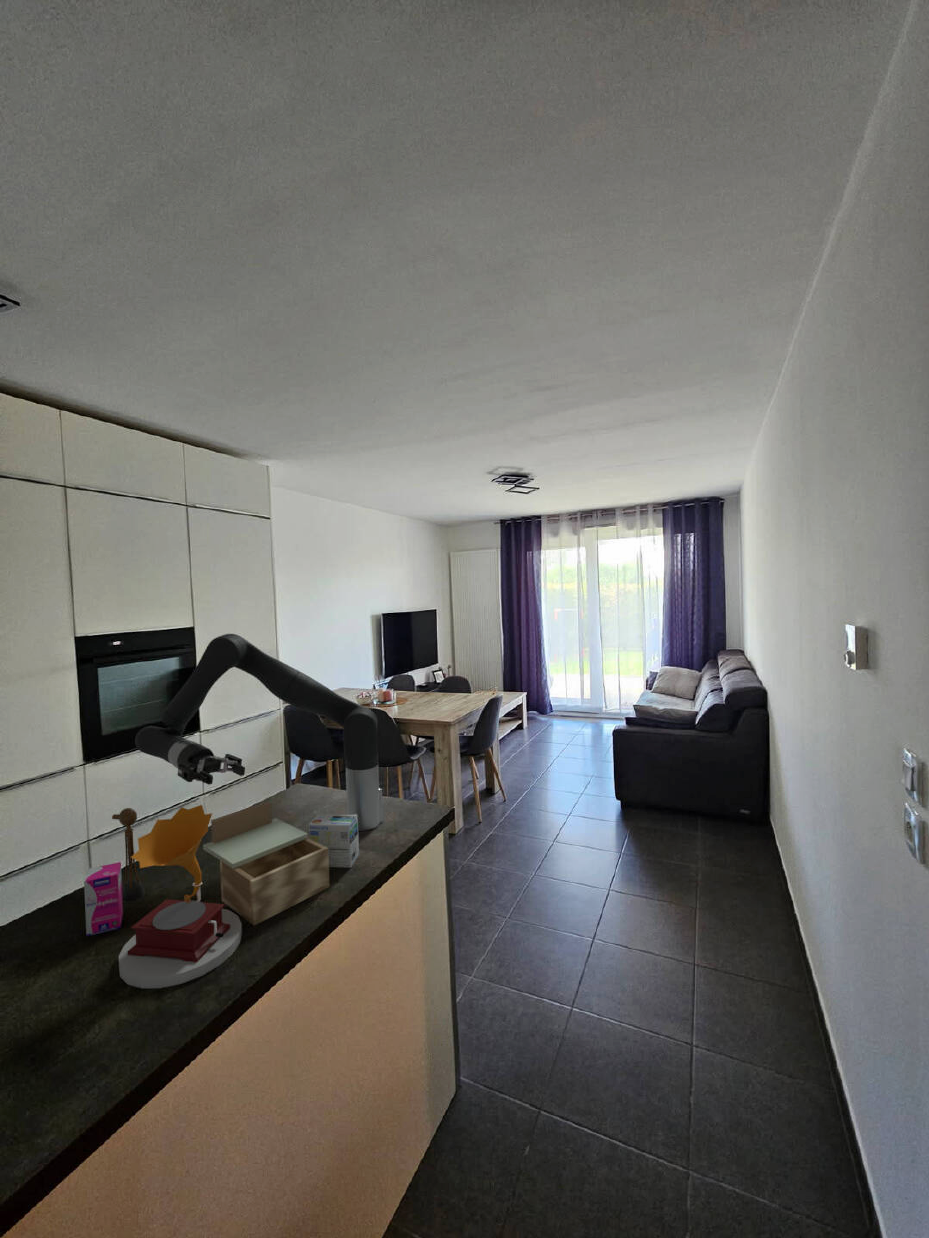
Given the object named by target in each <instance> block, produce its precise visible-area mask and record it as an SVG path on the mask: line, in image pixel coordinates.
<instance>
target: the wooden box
mask: <svg viewBox="0 0 929 1238" xmlns="http://www.w3.org/2000/svg"><path fill="white" fill-rule="evenodd" d="M219 873H220V892H221V896H220V897H221V901H222V902H223V904H225V906H228V907H229V908H231V909H232V910H233V911H234V912H236V913H237V914H239V916H241V917H242V918H243V919H245V920H246V921H247V922H249V923H250V924H251V925H252V926H256V925H258V924H260V923H262V922H264V921H266V920H268V919H270V918H272V917H274V916H276V915H279V914H280V913H282V912H284V911H286V910H287V909H289V908H291V907H293V906H295V905H298V904H299V903H301V902H303V901H305V900H307V899H309V898H311V897H313V896H315V895H317V894H318V893H321V892H323V891H324V890H326V889H329V888H330V867H329V858H328V848H327V847H325V846H323V845H321V844H319V843H317V842H315V841H313V840H311V839H309V837H308V838H306V839H304V840H301V841H299V842H296V843H294V844H292V845H289V846H287V847H284V848H282V849H280V850H277V851H275V852H272V853H270V854H267V855H265V856H263V857H260V858H258V859H255V860H253V861H251V862H248V863H246V864H243V865H241V866H239V867H236V868H234V869H233V868H231V867H230V866H228V865H227V864H225V863H224V862H222V861H221V860H219Z"/></svg>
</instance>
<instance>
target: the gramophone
mask: <svg viewBox="0 0 929 1238" xmlns="http://www.w3.org/2000/svg"><path fill="white" fill-rule="evenodd" d="M212 815H213V813H211V812H210V813H206V814H205V809H204V807H203V804H200V805H197V806H193V807H192V808H189V809H188V808H184V807H182V806H181V807H180V808H179V810H177V812H176V813H175V814H174V815H173V816H172V817H171V818H167V819H166V818H165V819H157V820H156V822H155V824H153V827H152V829H151V830H150V832H149V833H147V834H145V835H143V836H141V837H138V838H137V842H138V851H136V852H134V855H133V856H132V857H131V858H132V859H135V861H137V862H138V863H139V869H142V868H143V869H144V868H148V867H153V866H156V867H157V866H159V867H160V866H161V867H163V866H164V867H166V866H167V867H169V866H170V867H172V866H180V867H182V868H184V869H185V870H186V871H187V872H189V874H191V875H192V877H193V878H194V882H193V883H192V884H191V885H192V886H193V892H191V894H190V895H189V894H185V895H184V896H183V900H179V899H165V900H163V902H161V903H160V904H159V905H158V906H156V907H155V908H153V909H152V910H151V911H150V912H149V913H148V914H146V915H145V916H143V917H142V918H141V919H140V920H139V921H137V922H136V923H134V925H131V926H130V929H131V930H135V934H134V935H133V936H132V937H131V938H130V939H128V941H127V942H126V943H125V944H124V945H123V946H122V949H121V951H120V953H119V954H118V968H119V978H121V979H122V980H123V982H125V983H126V985H129V986H133V987H136V988H139V987H140V988H139V989H163V987H164V988H168V987H172V986H177V985H181V984H184V983H187V982H190V981H193V980H194V979H197V978H200V977H203V976H205V975H206V974H208V973H209V972H211V971H212V970H214V969H215V968H217V967H219V966H221V965H222V964H223V963H224V962H226V960H227V959H229V958H230V957H231V956H232V955H234V953H235V951H236V949H238V947H239V945H240V944H241V941H242V935H243V927H242V926H243V925H242V922H241V920H240V917H239V915H237V914H236V913H235V912H233V911H231V910H229V909H225V907H226V904H225V903H213V902H201V899H202V897H201V896H202V895H201V893H202V892H201V885H203V882H202V880H203V879H202V870H201V867H200V864H199V862H198V859H197V857H196V853H197V851H198V849H199V846H200V844H201V841H202V838H203V837H204V836H205V835H206V834H207V833H208V832H209V825H210V823H211V820H212V819H211V818H212ZM195 895H196V900H191V898H192V897H195ZM233 952H234V953H233ZM228 957H229V958H228Z"/></svg>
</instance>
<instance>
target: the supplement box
mask: <svg viewBox="0 0 929 1238" xmlns="http://www.w3.org/2000/svg"><path fill="white" fill-rule="evenodd" d="M83 883H84V884H83V885H84V886H83V887H84V904H85V905H84V906H85V907H84V908H85V909H84V910H85V929H86V931H85V933H86V937H91V936H94V935H99V934H102V933H105V932H110V931H113V930H114V931H115V930H118V929H121V926H122V922H123V917H124V904H123V903H124V902H123V899H122V888H123V880H122V862H114V863H109V864H105V865H98V866H95V867H90V868H88V869H87V871H86V875H85V879H84V882H83Z"/></svg>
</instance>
